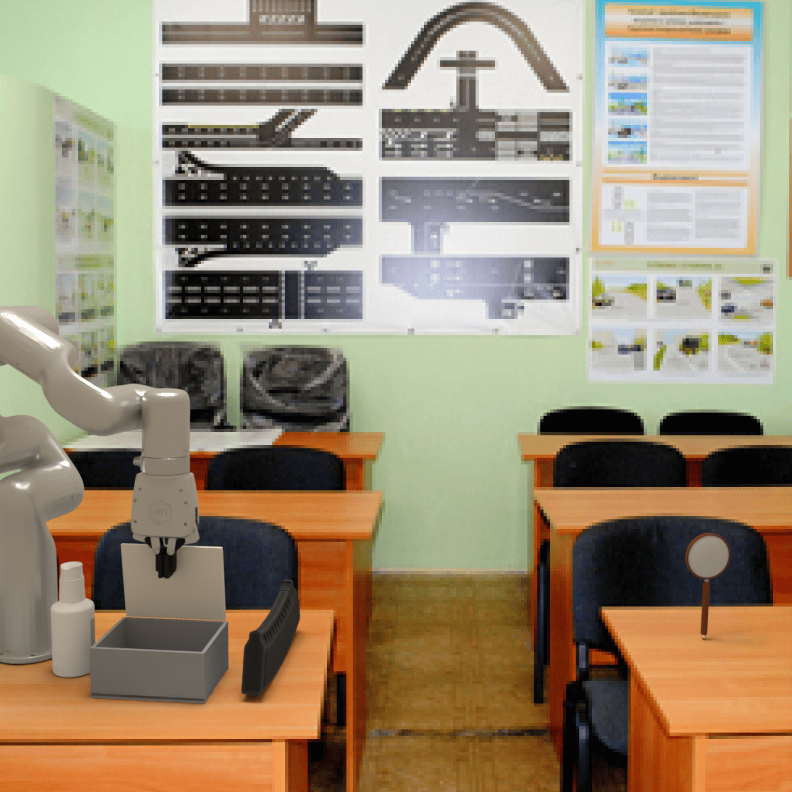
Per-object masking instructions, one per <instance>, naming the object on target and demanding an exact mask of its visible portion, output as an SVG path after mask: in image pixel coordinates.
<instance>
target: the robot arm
mask: <svg viewBox="0 0 792 792" xmlns="http://www.w3.org/2000/svg"><path fill="white" fill-rule="evenodd" d="M77 360H78V352H77V348H76V347H75V345H74V344H73V343H71V342H70V341H69V340H66V339H65V338H63V337H61V336H60V328H59V324H58V321H57V319H56V318H55V316H54V315H53V314H52V313H51V312H50V311H48V310H47V309H45V308H43V307H42V306H41V307H40V306H38V305H11V306H10V305H5V306H4V305H3V306H0V367H3V366H5V365H9V366H11V367H12V368H13V369H15V370H16V371H18V372H20V373H21V374H22V375H24V376H26V377H28V379H30V380H31V381H33V382H35V383H36V384H38V385H39V386H40V387H41V391H42V394H43V396H44V398H45V399H46V401H47V402H48V404H49V406H50V407H51V408H52V410H53V411H54V412H55V413H56V414H57V415H59V416H60V417H61V418H63V419H64V420H66V421H68V422H69V423H71V424H72V425H74V426H76V427H77V428H79V429H80V430H82V431H84V432H86V433H88V434H91V435H94V436H98V437H109V436H113V435H114V436H115V435H117V434H120V433H121V434H122V433H125V432H130V431H135V430H139V429H141V454H140V456H135V457H134V458H133V459H132V460H133V461H132V464H133V465H134V466H138V467H140V472H139V473H136V476H135V481H134V485H133V486H134V487H133V493H132V501H131V512H130V513H131V514H130V529H131V532H132V533H133V534H132V539H134V540H135V541H138V542H143V543H145V544H147V545H148V546H149V547H150V548H151V549H152V551H153V553H154V554H155V568H156V571H158V578H163V577H164V578H165V579H169V578H170V577H171V576H172V575H173V574H174V572H175V571H176V569H177V550H178V549H179V548H180V547H182V546H185V545H189V544H195V543H197V542H198V541H199V540H200V534H199V531H198V528H199V526H200V525H199V524H200V509H199V498H198V492H197V484H196V479H195V474H194V473H193V472H191V471H190V470H191V468H190V467H191V465H190V464H191V463H190V462H191V461H190V460H191V458H190V457H191V454H190V453H191V451H190V449H191V447H190V446H191V445H190V442H191V441H190V440H191V439H190V438H191V431H190V430H191V421H190V419H191V418H190V417H191V408H190V407H191V403H190V402H191V400H190V396H189V394H188V392H187V391H186V390H183V389H180V388H169V387H168V388H167V387H163V388H162V387H161V388H157V387H152V386H149V385H146V384H145V385H144V384H140V383H128V384H122V385H121V384H120V385H115V386H109V387H102V388H101V387H99V386H98V385H95V384H93V383H92V382H90V381H88V380H87V379H85V378H84V377H82V376H81V375H79V374H78V373H77V372H76V371H74V369H75V367H76V365H77V362H78V361H77ZM16 470H19V471H17V472H14V473H11V474H8V475H7V476H5V477H2V478H1V479H0V663H4V664H14V665H15V664H16V665H17V664H18V665H19V664H20V665H22V664H23V665H25V664H32V663H39V662H44V661H47V660H50V659H51V660H52V636H51V607H52V605H53V604H54V603H56V602H57V601H59V600H58V599H59V595H58V594H59V591H58V565H57V563H58V561H57V548H56V543H55V541H54V538H53V536H52V534H51V531H50V530H49V528H48V524H47V522H49V521H51V520H54V519H56V518H59V517H62V516H65V515H67V514H70V513H72V512H73V511H75V510H76V509H78V508H79V506H80V505H81V503H82V502H83V500H84V499H83V498H84V496H85V486H84V482H83V479H82V477H81V475H80V473H79V471H78V469H77V467H76V466H75V464H74V463H73V461H72V460H71V459H70V457H69V455H68V454H67V452H65V450H64V448H63V447H62V445H61V444H60V443H59V441H58V440H57V438H56V437H55V434H53V433H52V431H51V430H50V429H49V427H48V426H47V425H46V424H45V423H44V422H42V421H41V420H40V419H38V418H37V417H34V416H32V415H28V414H15V415H9V416H3V415H1V414H0V475H1V474H5V473H8V472H12V471H16ZM165 538H166V539H168V542H167V545H168V547H167V550H166V547H165V545H166V543H165Z"/></svg>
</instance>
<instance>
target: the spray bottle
mask: <svg viewBox="0 0 792 792" xmlns="http://www.w3.org/2000/svg"><path fill="white" fill-rule="evenodd" d="M83 571H84V570H83V563H82V562H81V561H68V562H63V563H61V564H60V575H59V580H58V582H59V591H58V594H59V595H58V599H59V600H58V601H57V602H56V603H54V604H53V605H52V607H51V636H52V658H51V662H52V663H51V664H52V672H53V674H54V675H55V676H56V677H60V678H77V677H82V676H85V675H88V674H90V647H92V646H93V645H94V644H95V643H96V620H95V619H96V616H95V615H96V614H95V603H94V601H93V600H91V599H89V598H87V597H86V588H85V575H84V573H83Z"/></svg>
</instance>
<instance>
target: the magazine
mask: <svg viewBox="0 0 792 792" xmlns="http://www.w3.org/2000/svg"><path fill="white" fill-rule="evenodd" d="M297 591H298V590H297V589H296V588H295V587H294V581H293V579H283V580H282V581H281V586H280V588H279V590H278V594H277V596H276V598H275V601H274V602H273V605H272V607H271V609H269V612H268V614H267V615H266V617H265V618H264V619H263V621H262V622H261V623H260V625H259V626H257V628H256V629H253V630H252V631H250V632H249V633H248V640H247V642H246V643H245V645H244V646H243V654H242V655H243V658H242V670H241V671H242V674H241V687H240V688H241V691H240V692H241V695H246V696H253V697H257V696H261V695H263V693H264V691H265V689H267V686H269V684H270V683H271V682H272V680H273V679H275V676H276V675H277V674H278V672H279V670H280V668H281V667H282V665H283V663H284V661H285V659H286V657H287V655H288V652H289V650H290V648H291V644H292V643H293V641H294V637H295V634H296V632H297V629H298V626H299V623H300V620H301V610H300V609H301V608H300V607H301V606H300V599H299V595H298V592H297Z"/></svg>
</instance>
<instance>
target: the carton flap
mask: <svg viewBox="0 0 792 792" xmlns="http://www.w3.org/2000/svg"><path fill="white" fill-rule="evenodd" d="M165 547H166V550H167V547H168V544H165ZM120 548H121V549H120V550H121V551H120V553H121V565H122V577H123V578H122V579H123V590H124V602H125V605H124V606H125V617H140V618H162V619H185V620H208V621H227V610H226V607H227V606H226V593H225V591H226V589H225V569H224V568H225V567H224V566H225V565H224V550H223V546H207V545H206V546H205V545H203V546H202V545H200V546H199V545H183V546H182V547H180V548H179V549H178V550H177V569H176V571H175V572H174V574H173V575H172V576H171V577H170V578H169V579H165V578H164V577H163V578H158V571H156V568H155V554H154V553H153V551H152V549H151V548H150V547H149V546H148V545H147V543H123V542H122V543H121V544H120Z"/></svg>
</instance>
